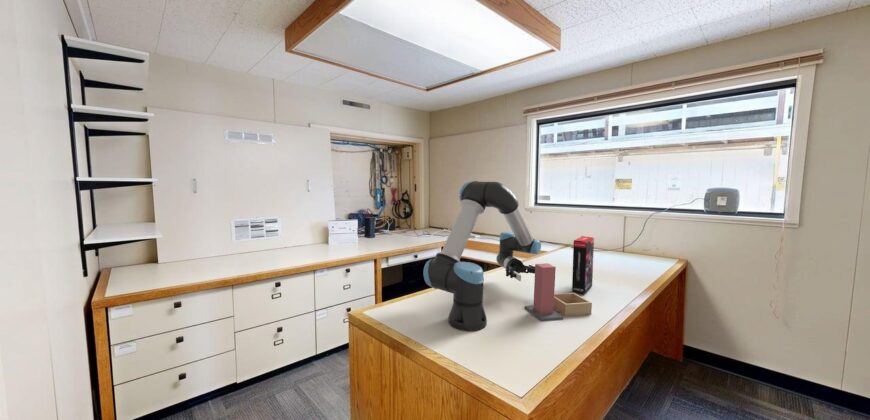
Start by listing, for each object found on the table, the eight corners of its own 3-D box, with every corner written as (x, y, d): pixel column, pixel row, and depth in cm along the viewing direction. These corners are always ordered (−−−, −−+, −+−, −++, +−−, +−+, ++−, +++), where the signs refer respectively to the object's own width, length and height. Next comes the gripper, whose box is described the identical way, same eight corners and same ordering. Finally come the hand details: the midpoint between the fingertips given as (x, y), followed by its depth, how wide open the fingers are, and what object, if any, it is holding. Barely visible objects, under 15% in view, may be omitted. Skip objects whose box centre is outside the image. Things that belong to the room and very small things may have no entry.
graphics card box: (584, 295, 164) (587, 241, 162) (570, 292, 168) (573, 239, 166) (592, 286, 178) (595, 237, 175) (578, 284, 182) (581, 235, 179)
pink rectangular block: (540, 314, 137) (542, 267, 135) (533, 308, 143) (535, 263, 141) (553, 313, 139) (555, 267, 137) (545, 307, 144) (547, 263, 143)
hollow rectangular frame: (565, 316, 138) (565, 304, 138) (548, 304, 151) (549, 294, 150) (591, 313, 141) (591, 302, 140) (573, 303, 153) (573, 292, 153)
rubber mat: (541, 321, 133) (541, 318, 133) (524, 307, 147) (524, 305, 147) (563, 319, 135) (563, 316, 135) (545, 306, 149) (545, 304, 149)
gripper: (535, 271, 172) (558, 284, 151) (490, 273, 167) (508, 286, 146) (536, 257, 171) (559, 268, 151) (491, 259, 166) (508, 270, 146)
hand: (534, 277), depth 148 cm, fingers open, 13 cm apart
